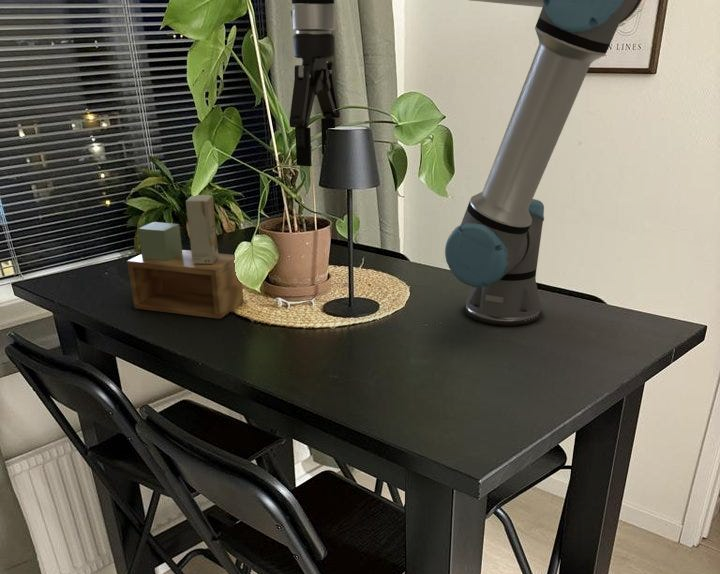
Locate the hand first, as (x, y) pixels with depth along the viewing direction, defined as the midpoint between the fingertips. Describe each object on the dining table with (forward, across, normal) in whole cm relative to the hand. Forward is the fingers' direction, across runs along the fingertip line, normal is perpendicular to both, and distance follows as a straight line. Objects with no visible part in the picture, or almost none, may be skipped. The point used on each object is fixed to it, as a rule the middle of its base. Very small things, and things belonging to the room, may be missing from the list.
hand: (317, 159), depth 146 cm
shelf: (+29, +10, -26) cm, 40 cm away
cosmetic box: (+19, +10, -21) cm, 30 cm away
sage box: (+19, +10, -31) cm, 37 cm away
